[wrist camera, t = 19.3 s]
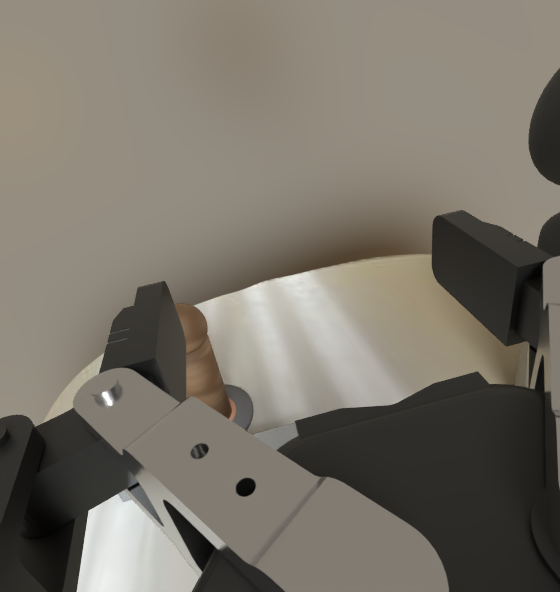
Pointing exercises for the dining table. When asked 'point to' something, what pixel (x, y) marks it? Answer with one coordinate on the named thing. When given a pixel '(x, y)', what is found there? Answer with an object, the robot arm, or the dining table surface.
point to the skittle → (201, 362)
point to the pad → (239, 406)
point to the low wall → (270, 437)
